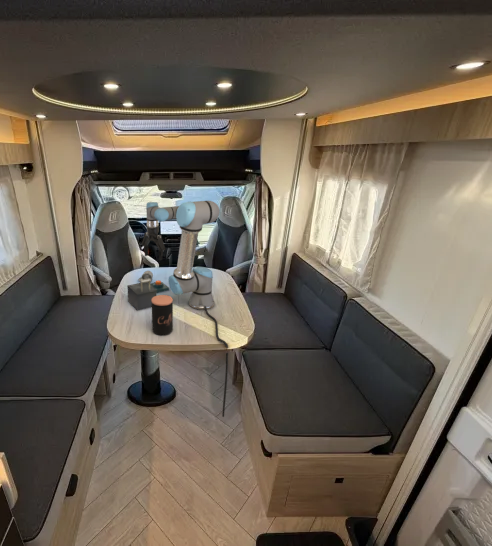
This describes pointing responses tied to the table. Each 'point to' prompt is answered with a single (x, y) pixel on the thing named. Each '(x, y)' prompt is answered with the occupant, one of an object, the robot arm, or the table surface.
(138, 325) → the table surface
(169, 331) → the coffee jar
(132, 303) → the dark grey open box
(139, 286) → the box lid
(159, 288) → the control block
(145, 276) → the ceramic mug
